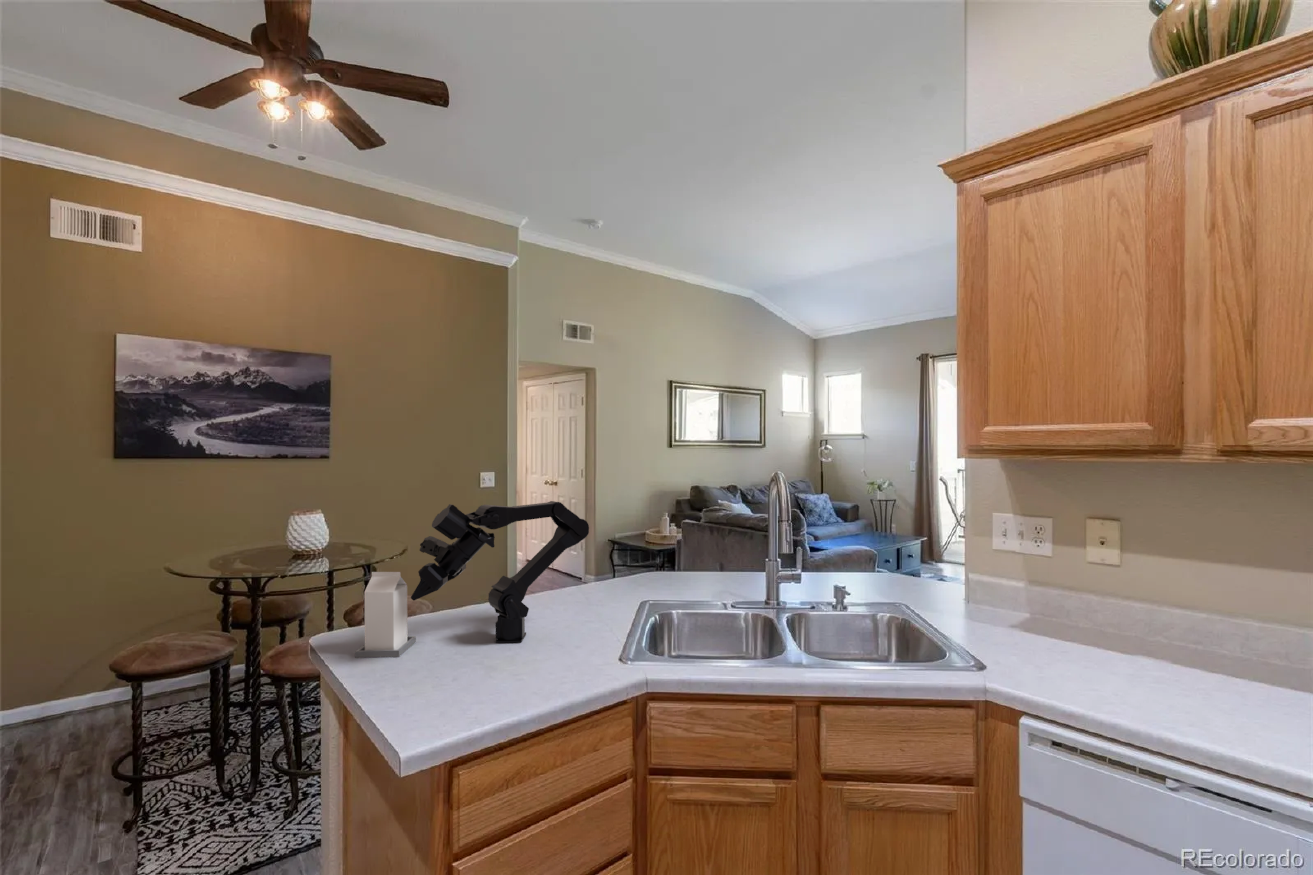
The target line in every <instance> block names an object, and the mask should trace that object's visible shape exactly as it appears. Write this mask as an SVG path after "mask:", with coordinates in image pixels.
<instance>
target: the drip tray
mask: <svg viewBox="0 0 1313 875" xmlns="http://www.w3.org/2000/svg"><path fill="white" fill-rule="evenodd" d="M415 642H416V643H417V637H416V635H413V636H410V635H409V636H408V635H407V642H406V643H405V644H404V645H403V646H401V647H400V648H399V649H398V650H365V644H364V645H362V646H361V647H359V648H358V649H356V650H355V651H354V655H355V656H354V658H355V659H362V658H363V659H367V658H368V659H369V658H400V657H401V656H402V655H403V654H404V653H405V652H406V651H408V649H410V648H411V647H412V646H413V645H414V644H416V643H415ZM400 655H401V656H400Z"/></svg>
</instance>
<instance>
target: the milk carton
mask: <svg viewBox="0 0 1313 875" xmlns="http://www.w3.org/2000/svg"><path fill="white" fill-rule="evenodd" d="M401 573H402V572H401V571H371V577H370V579H369V581H368V583H367V586H366V588H365V590H364V645H365V650H398V649H399V648H400V647H401V646H403V645H404V644H405V643H406V642H407V636H408V583H406V581H405V580H404V578H403V577H402V576H401Z"/></svg>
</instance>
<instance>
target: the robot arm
mask: <svg viewBox="0 0 1313 875" xmlns="http://www.w3.org/2000/svg"><path fill="white" fill-rule="evenodd" d="M545 518H551V520H552V521H553V523H554V524H555V525H556V526H557V527H556V529H555V530H554V533H553V536H552V538H551V539H550V540H549V541H548V542H546V544H545V545H544V546H543V547H542V548H541V549H540V550H539V551H538V552H537V553H536V554H535V555H534V556H533V557H532V558H531V559H530V560H529V561H528V562H526V563H525V565H523V567H521V569H520V570H518V572H517V573H515V575H513V576H511V577H509V576H506V575H502V576H501V577H500V578H499V580H498V581H497V582H496V583H495V584H492V585H491V589H490V591H489V593H488V598H487V599H488V603H489V605H490V606H491V607H492V608H493V609H494V611H495V613H496V614H498V616H497V620H496V622H495V624H494V625H495V627H494V628H495V639H496V640H495V643H496V644H506V643H507V644H509V643H512V644H513V643H517V644H518V643H522V642H523V641H524V640H525V637H526V636H527V632H525V627H526V626H525V625H526V624H525V620H526V619H525V618H527V616H528V614H529V610H530V608H529V607H528V606H527V605H525V604H524V603H523V600H524V599H525V597H526V595H527V592H528V588H530V586H531V585H532V584H534V582H536V580H537V579H538V578H540V576H541V575H542V574H543V573H544V572H545V571H546V570H547V569H548V568H549V567H550V566H552V564H553V563H554V562H555V561H556V560H557V559H558V558H559V557H560V556H561V555H562V553H564V551H566V550H567V549H569V548H571V547H574V546H576V545H578V544H579V543H580V542H582V541H583V540H585V539H586V538H587V537H588V535H589V533H590V526H589V525H590V524H589V523H588V521H587V520H586V519H584V518H580V517H579V516H578V515H577V514H575V513H574V512H572V511H571V510H570V509H568V508H567V507H566V506H565V505H564V504H563V503H562V502H560V501H555V500H550V501H546V502H539V503H530V504H522V505H513V506H509V505H508V506H506V505H495V504H482V505H479V506H478V507H477V509H476V510H475V511H472V512H469V513H466V514H465V513H464V512H463V511H461V510H460V509H459V508H458V507H457V506H456V505H454V504H451V503H450V504H448V505H447V507H445V508H443V509H442V510H441V511H440V512H439V513H437V515H436V516H435V517H434V518H433V521H432V523H431V527H432V528H433V529H435V530H436V531H438V532H439V533H441V534H442V535H443V536H445V537H447V538H448V539H449V540H450V541H453V540H455V539H456V540H455V541H454V542H452V543H450V544H449V543H447V542H446V541H443V540H442V539H440V538H437V537H434V536H431V535H430V536H429V535H428V536H427V537H424V539H423V540H422V542H421V543H420V544H419V546H420V547H419V551H420V552H421V553H422V554H423V553H425V554H427V555H430V556H432V557H435V558H433V561H434V562H429V563H426V564H425V565H423V566H422V567H421V568H420V569H419V570H418V576H419V582H418V584H417V586H416V588H415V589H414V591H413V593H412V594H411V596H410V599H411V600H412V601H416V600H419V599H421V598H423V597H426V596H427V595H429V594H432V593H434V592H437V591H438V590H440V589H442V587H443V586H445V585H446V584H447V583H448V582H449V581H451V580H454V579H455V578H457V577H458V576H459V575H460V574H462V573H463V572H464V571H465V570H466V569H467V564H468V562H470V561H471V560H472V559H473V558H474V556H475V555H477V553H478V552H479V551H480V550H481V549H482V548H483V547H484V546H485V545H486V544H487V545H488V546H489V547H491V548H495V533H494V532H487V531H486V530H484V529H482V528H485V529H488V530H497V529H501V528H504V527H507V526H509V525H511V524H512V523H517V522H523V521H528V520H529V521H531V520H537V519H545ZM473 525H474V526H473ZM475 525H476V526H478V527H475ZM436 563H437V564H436Z"/></svg>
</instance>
